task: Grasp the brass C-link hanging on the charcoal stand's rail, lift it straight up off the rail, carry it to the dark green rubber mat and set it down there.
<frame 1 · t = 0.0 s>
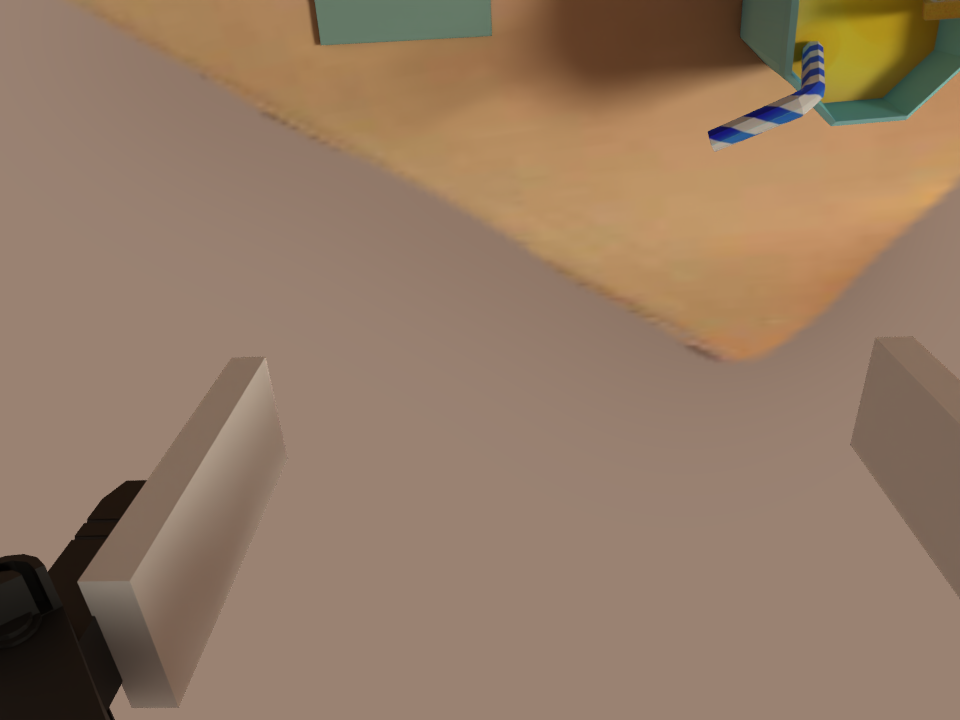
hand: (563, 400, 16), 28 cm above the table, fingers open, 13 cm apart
cup: (772, 19, 38), on the table
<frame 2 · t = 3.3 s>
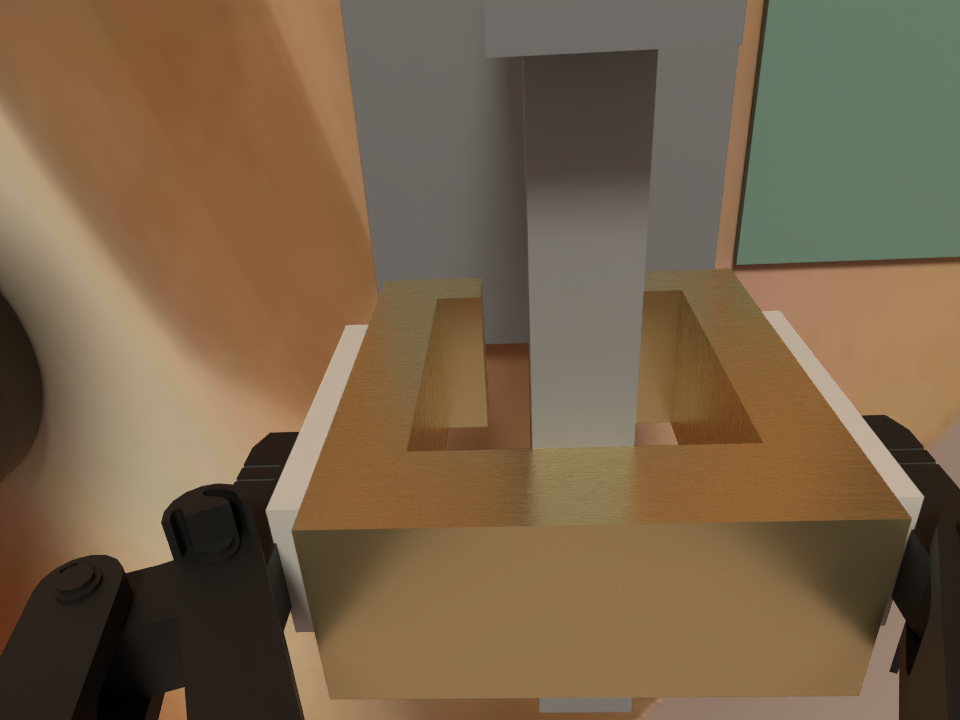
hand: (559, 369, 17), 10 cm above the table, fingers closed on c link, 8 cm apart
c link: (555, 340, 19), point 9 cm above the table, touching gripper, stand
stand: (540, 114, 24), on the table
mat: (885, 128, 24), on the table
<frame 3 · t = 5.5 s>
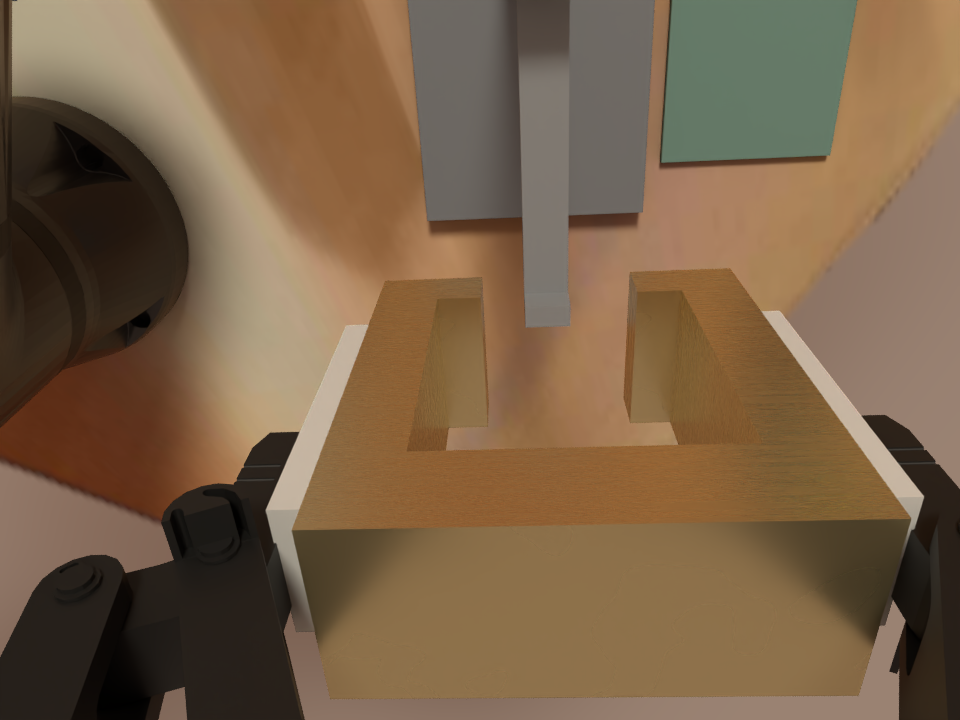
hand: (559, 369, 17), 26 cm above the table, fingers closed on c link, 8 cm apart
c link: (555, 340, 19), point 24 cm above the table, touching gripper
stand: (531, 60, 38), on the table
mat: (753, 69, 38), on the table
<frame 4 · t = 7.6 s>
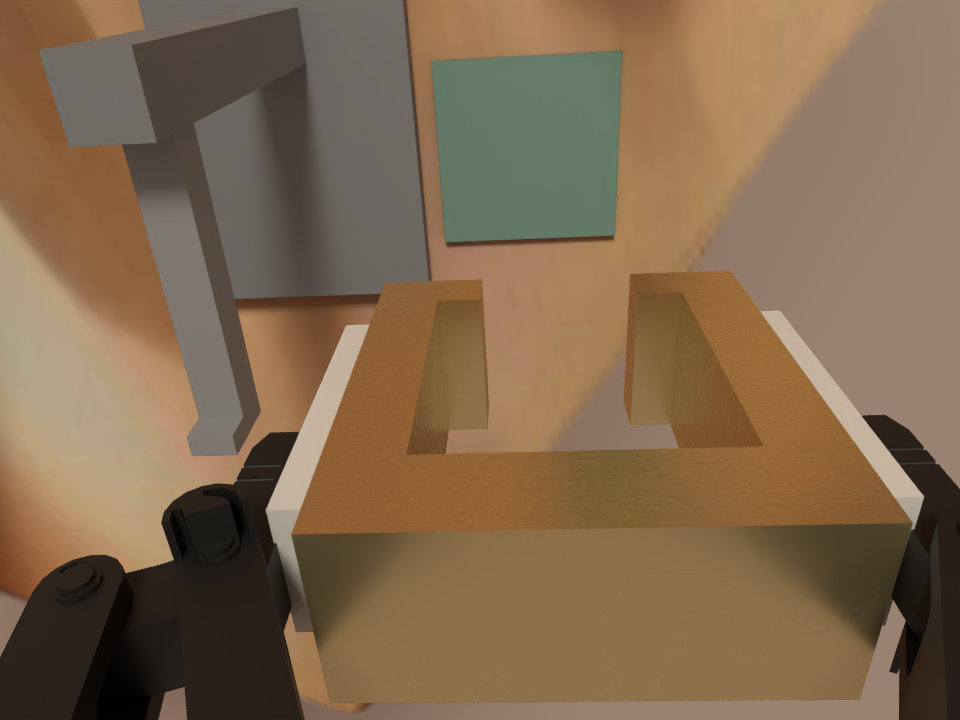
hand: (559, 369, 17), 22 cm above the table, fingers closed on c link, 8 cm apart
c link: (555, 342, 19), point 21 cm above the table, touching gripper
stand: (300, 141, 37), on the table
mat: (527, 151, 37), on the table
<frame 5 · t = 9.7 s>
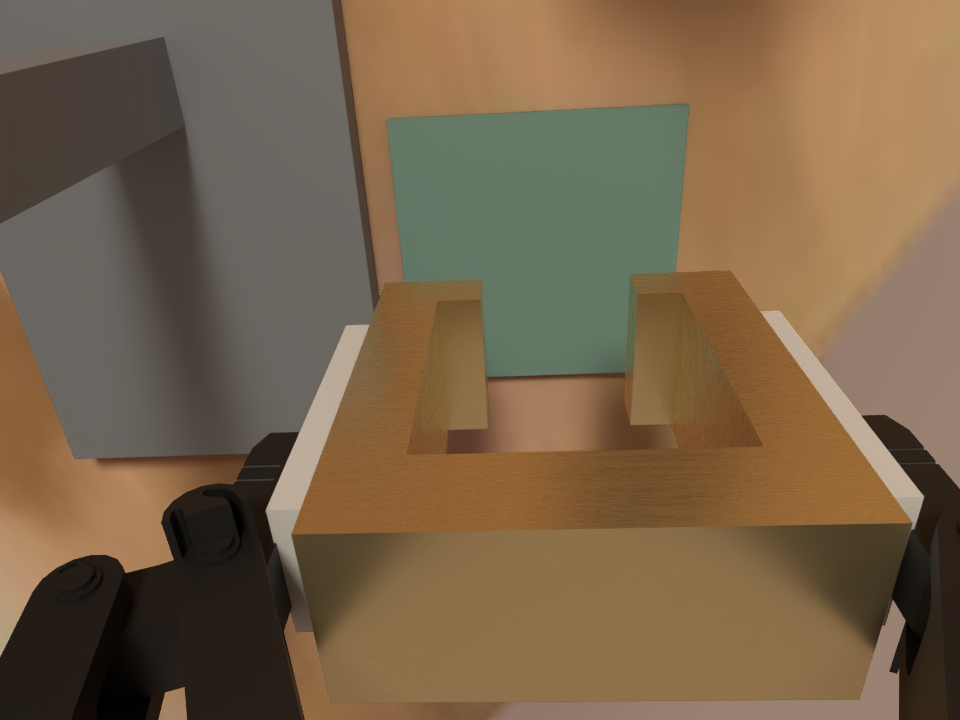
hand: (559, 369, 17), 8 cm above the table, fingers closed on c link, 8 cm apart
c link: (555, 342, 19), point 6 cm above the table, touching gripper
stand: (191, 237, 24), on the table
mat: (537, 252, 24), on the table
when the fingers open (3 cm above the table, at t = 11.8 s): c link drops 1 cm, resting on mat.
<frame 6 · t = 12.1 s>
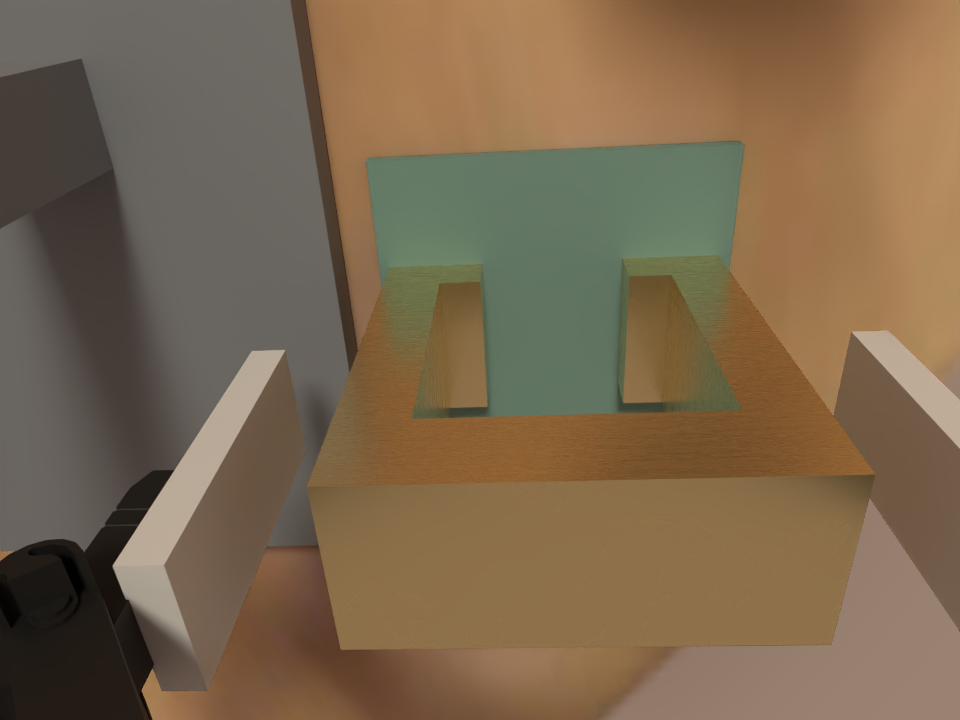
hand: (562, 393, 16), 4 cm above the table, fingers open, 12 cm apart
c link: (552, 324, 20), resting on mat
stand: (132, 297, 20), on the table
mat: (552, 316, 20), on the table
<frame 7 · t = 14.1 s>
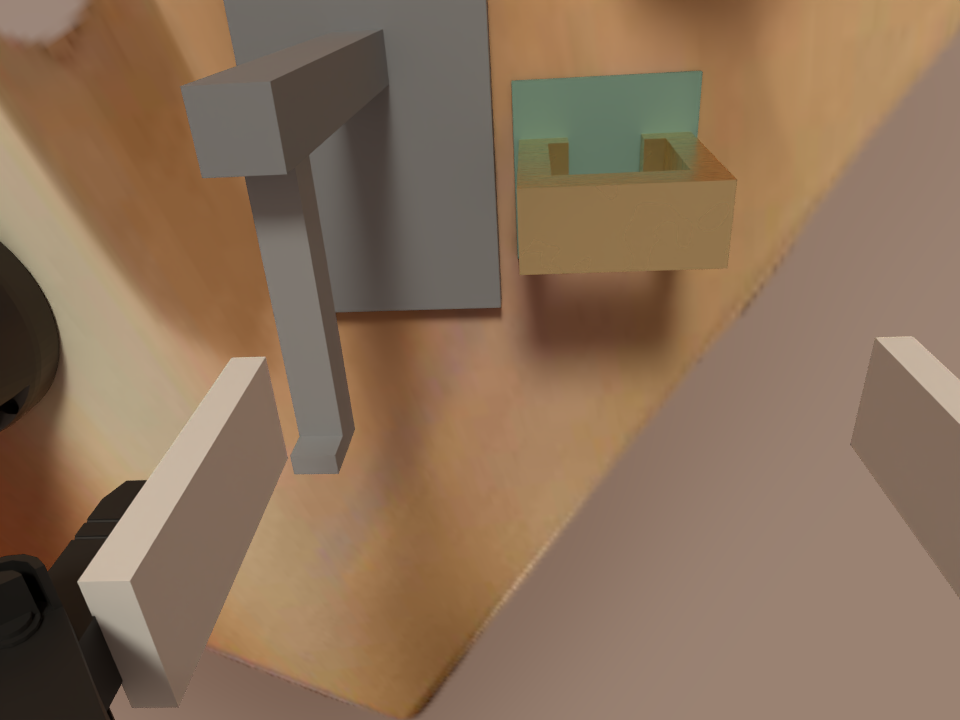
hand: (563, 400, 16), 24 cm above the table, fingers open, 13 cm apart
c link: (603, 172, 37), resting on mat
stand: (378, 159, 38), on the table
mat: (603, 169, 37), on the table
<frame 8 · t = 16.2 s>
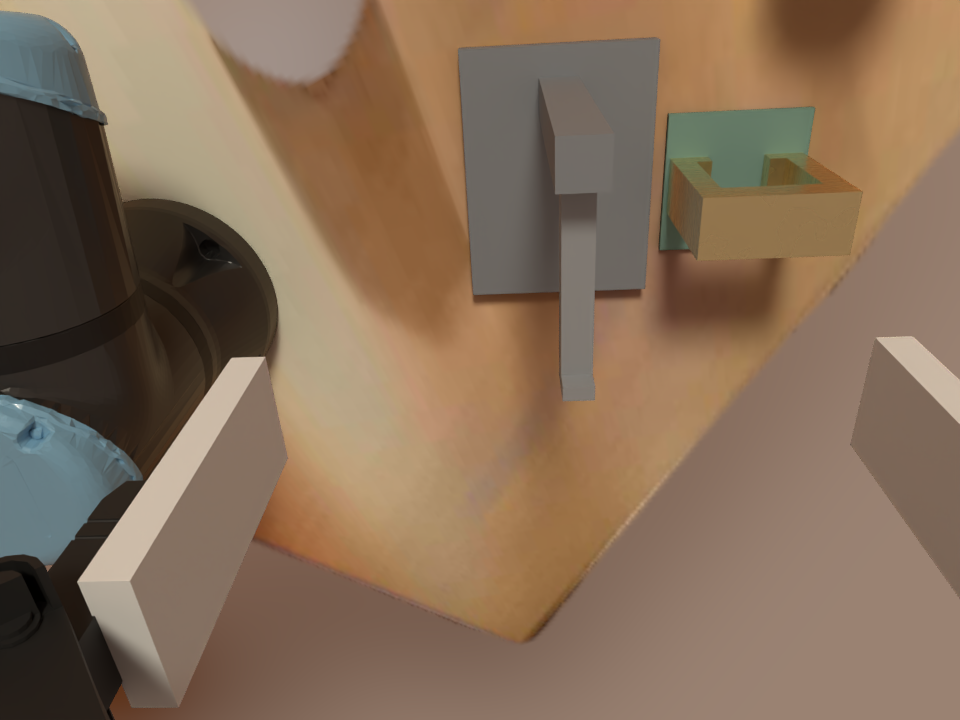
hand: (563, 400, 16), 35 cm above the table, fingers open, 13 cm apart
c link: (733, 183, 48), resting on mat
stand: (557, 173, 48), on the table
mat: (731, 180, 48), on the table
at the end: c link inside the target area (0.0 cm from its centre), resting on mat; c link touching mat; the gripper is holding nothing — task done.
